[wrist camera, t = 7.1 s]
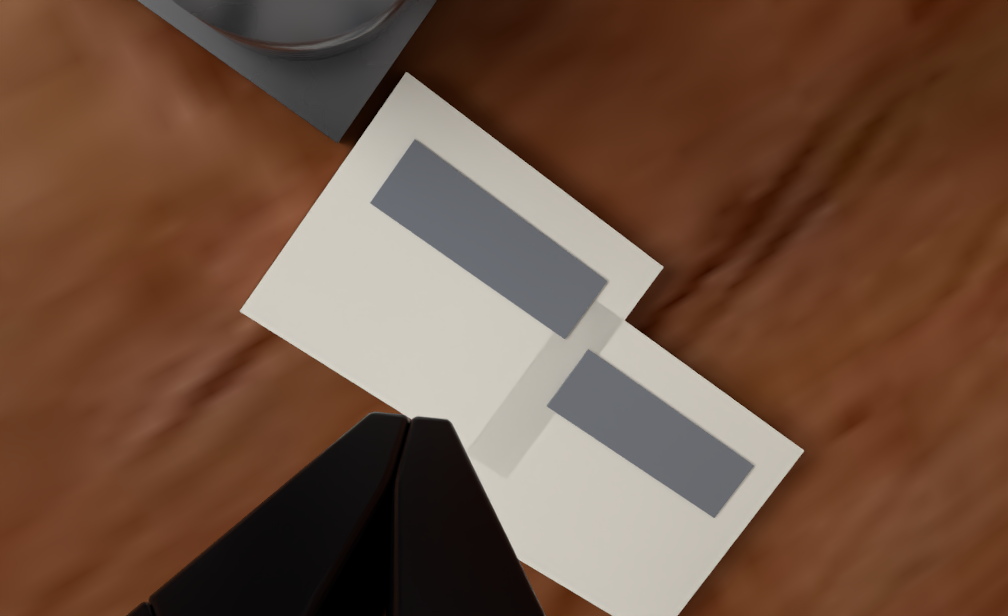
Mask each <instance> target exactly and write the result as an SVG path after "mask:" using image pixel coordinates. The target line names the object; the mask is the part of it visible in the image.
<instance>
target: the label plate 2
mask: <svg viewBox="0 0 1008 616" xmlns="http://www.w3.org/2000/svg"><path fill="white" fill-rule="evenodd" d="M597 303H598V302H597ZM597 303H596V304H597ZM598 304H599V303H598ZM598 304H597V305H598ZM600 304H601V303H600ZM600 304H599V305H600ZM594 307H595V306H594ZM603 307H604V306H603ZM595 308H596V307H595ZM597 308H598V307H597ZM592 310H593V311H594V309H592ZM601 310H602V309H601ZM601 310H600V311H601ZM603 310H604V309H603ZM593 311H592V312H593ZM608 311H609V310H608ZM608 311H607V312H608ZM610 311H611V310H610ZM590 312H591V311H590ZM592 312H591V313H592ZM611 312H612V311H611ZM611 312H610V313H611ZM597 313H598V312H597ZM599 313H600V312H599ZM610 313H609V314H610ZM600 314H601V313H600ZM588 315H589V314H588ZM605 315H606V314H605ZM612 315H613V314H612ZM589 316H590V315H589ZM597 316H598V315H596V317H597ZM608 316H609V315H608ZM608 316H607V317H608ZM594 317H595V316H594ZM594 317H593V318H594ZM596 317H595V318H596ZM598 317H599V316H598ZM598 317H597V318H598ZM607 317H606V318H607ZM613 317H614V316H613ZM615 317H616V316H615ZM615 317H614V318H615ZM586 319H587V318H586ZM602 319H603V318H602ZM619 319H620V318H619ZM620 320H621V319H620ZM620 320H619V321H620ZM591 321H592V320H591ZM608 321H609V320H608ZM610 321H611V320H610ZM592 322H593V321H592ZM592 322H591V323H592ZM611 322H612V321H611ZM611 322H610V323H611ZM617 322H618V321H617ZM599 323H600V322H599ZM601 323H602V322H601ZM620 323H621V322H620ZM606 324H607V323H606ZM606 324H605V325H606ZM617 324H619V323H617ZM607 325H608V324H607ZM620 325H621V326H620V327H619V328H617V329H618V330H617V331H616V332H615V334H614V335H613V336H612V338H611V339H610V341H609V342H608V343H606V344H607V345H606V346H605V347H603V348H604V349H603V350H602V351H601V353H600V354H599V355H596V354H595V353H593V352H592V350H591V351H590V350H589V349H588V350H587V351H586V353H585V354H584V355H583V357H582V358H581V359H580V361H579V362H578V364H577V365H576V366H575V368H574V369H573V370H572V372H571V373H570V374H569V376H568V377H567V378H566V380H565V381H564V383H563V384H562V385H561V387H560V388H559V389H558V391H556V393H555V395H554V396H553V397H552V398H551V400H550V402H549V403H547V407H548V408H550V409H551V410H553V411H554V412H556V414H555V415H554V416H553V418H552V419H551V420H550V422H549V423H548V424H547V426H546V427H545V429H544V430H543V431H542V433H541V434H540V435H539V437H538V438H537V439H536V441H535V442H534V443H533V445H532V446H531V448H530V449H529V450H528V452H527V453H526V454H525V456H524V457H523V458H522V460H521V461H520V462H519V464H518V465H517V466H516V468H515V469H514V471H513V472H512V473H511V475H510V476H509V477H507V478H508V479H506V478H504V477H503V476H501V475H499V474H498V472H497V473H496V472H495V471H493V470H492V469H490V468H488V467H487V466H485V465H484V464H482V463H480V462H479V461H477V460H476V459H474V458H472V457H471V456H469V455H468V454H467V455H468V457H469V459H470V461H471V463H472V465H473V467H474V469H475V471H476V473H477V475H478V478H479V480H480V482H481V484H482V486H483V488H484V490H485V492H486V494H487V496H488V498H489V500H490V502H491V504H492V506H493V508H494V510H495V513H496V515H497V517H498V519H499V521H500V523H501V525H502V527H503V529H504V531H505V533H506V535H507V537H508V539H509V541H510V543H511V545H512V547H513V550H514V552H515V554H516V556H517V558H518V559H519V560H520V561H522V562H524V563H525V564H527V565H529V566H530V567H532V568H534V569H535V570H537V571H539V572H540V573H542V574H544V575H545V576H547V577H549V578H550V579H552V580H554V581H555V582H557V583H559V584H560V585H562V586H564V587H565V588H567V589H569V590H570V591H572V592H574V593H575V594H577V595H579V596H580V597H582V598H584V599H585V600H587V601H589V602H590V603H592V604H594V605H595V606H597V607H599V608H601V609H602V610H604V611H606V612H607V613H609V614H611V615H612V616H678V614H679V613H680V612H681V611H682V609H683V608H684V607H685V605H686V604H687V603H688V601H689V600H690V599H691V598H692V596H693V595H694V594H695V592H696V591H697V590H698V588H699V587H700V586H701V585H702V583H703V582H704V581H705V579H706V578H707V577H708V575H709V574H710V573H711V572H712V570H713V569H714V568H715V566H716V565H717V564H718V562H719V561H720V560H721V559H722V557H723V556H724V555H725V553H726V552H727V551H728V549H729V548H730V547H731V546H732V544H733V543H734V542H735V540H736V539H737V538H738V536H739V535H740V534H741V533H742V531H743V530H744V529H745V527H746V526H747V525H748V523H749V522H750V521H751V520H752V518H753V517H754V516H755V514H756V513H757V512H758V510H759V509H760V508H761V507H762V505H763V504H764V503H765V501H766V500H767V499H768V497H769V496H770V495H771V494H772V492H773V491H774V490H775V488H776V487H777V486H778V484H779V483H780V482H781V481H782V479H783V478H784V477H785V475H786V474H787V473H788V471H789V470H790V469H791V468H792V466H793V465H794V464H795V462H796V461H797V460H798V458H799V457H800V456H801V455H802V453H803V452H804V450H803V449H801V448H800V447H799V446H797V445H796V444H794V443H793V442H792V441H790V440H789V439H788V438H786V437H785V436H783V435H782V434H781V433H779V432H778V431H776V430H775V429H774V428H772V427H771V426H770V425H768V424H767V423H765V422H764V421H763V420H761V419H760V418H759V417H757V416H756V415H754V414H753V413H752V412H750V411H749V410H747V409H746V408H745V407H743V406H742V405H741V404H739V403H738V402H736V401H735V400H734V399H732V398H731V397H730V396H728V395H727V394H725V393H724V392H723V391H721V390H720V389H719V388H717V387H716V386H714V385H713V384H712V383H710V382H709V381H707V380H706V379H705V378H703V377H702V376H701V375H699V374H698V373H696V372H695V371H694V370H692V369H691V368H690V367H688V366H687V365H685V364H684V363H683V362H681V361H680V360H679V359H677V358H676V357H674V356H673V355H672V354H670V353H669V352H667V351H666V350H665V349H663V348H662V347H661V346H659V345H658V344H656V343H655V342H654V341H652V340H651V339H650V338H648V337H647V336H645V335H644V334H643V333H641V332H640V331H638V330H637V329H636V328H634V327H633V326H632V325H630V324H629V323H627V322H626V321H625V320H624V322H623V323H622V324H620ZM590 326H591V325H590ZM608 326H609V325H608ZM615 326H617V325H615ZM594 327H595V326H594ZM594 327H593V328H594ZM596 327H597V326H596ZM596 327H595V328H596ZM613 327H614V326H613ZM587 328H588V327H587ZM603 328H604V326H603ZM614 328H615V327H614ZM614 328H613V329H614ZM604 329H605V328H604ZM606 329H607V327H606ZM613 329H612V331H613ZM576 330H577V329H576ZM586 330H587V329H586ZM600 330H602V329H600ZM609 330H610V329H609ZM574 331H575V330H574ZM593 331H594V330H593ZM604 331H605V330H604ZM610 331H611V330H610ZM590 332H591V331H590ZM594 332H595V331H594ZM594 332H593V333H594ZM598 332H599V331H598ZM570 333H571V332H570ZM573 333H574V332H573ZM583 333H584V332H583ZM599 333H600V332H599ZM588 335H589V334H588ZM592 335H593V334H592ZM596 335H598V334H596ZM596 335H595V336H596ZM605 335H606V334H605ZM607 335H608V334H607ZM609 335H610V333H609ZM609 335H608V336H609ZM595 336H594V337H595ZM586 337H587V336H586ZM596 337H597V336H596ZM561 338H562V337H561ZM597 338H598V337H597ZM597 338H596V339H597ZM602 339H603V338H602ZM602 339H601V340H602ZM595 341H596V340H595ZM595 341H594V342H595ZM606 341H607V340H606ZM600 342H601V341H600ZM561 343H562V342H561ZM601 343H602V342H601ZM601 343H600V344H601ZM600 344H599V345H600ZM604 344H605V343H604ZM590 345H591V344H590ZM598 347H599V346H598ZM549 348H550V347H549ZM553 348H554V347H553ZM577 349H578V348H577ZM596 349H597V348H596ZM566 351H567V350H566ZM556 354H557V353H556ZM552 355H553V354H552ZM552 355H551V356H552ZM570 364H571V363H570ZM551 369H552V368H551ZM531 378H532V377H531ZM531 383H532V382H531ZM545 385H546V384H545ZM554 387H555V386H554ZM546 394H547V393H546ZM542 396H543V395H542ZM539 400H540V399H539ZM537 402H538V401H537ZM524 407H525V406H524ZM542 408H543V407H542ZM526 409H527V408H526ZM505 410H506V409H505ZM522 410H523V409H522ZM543 410H544V409H543ZM520 411H521V410H520ZM527 414H528V413H527ZM536 414H537V413H536ZM546 415H547V414H546ZM525 417H526V416H525ZM543 417H544V416H543ZM533 418H534V417H533ZM536 418H537V417H536ZM546 418H547V417H546ZM523 419H524V418H523ZM525 419H526V418H525ZM548 421H549V420H548ZM548 421H547V422H548ZM520 423H521V422H520ZM521 424H522V423H521ZM530 424H531V423H530ZM545 425H546V424H545ZM545 425H544V426H545ZM488 428H489V426H488ZM497 428H498V427H497ZM517 429H518V428H517ZM542 429H543V428H542ZM542 429H541V430H542ZM505 430H506V429H505ZM526 430H527V429H526ZM510 431H511V430H510ZM512 431H513V430H512ZM531 431H532V430H531ZM528 432H529V431H528ZM531 433H532V432H531ZM531 433H530V434H531ZM495 434H496V433H495ZM503 434H504V433H503ZM537 435H538V434H537ZM517 437H518V436H517ZM478 438H479V437H478ZM527 438H528V437H527ZM485 441H486V440H485ZM484 445H485V444H484ZM511 447H512V446H511ZM519 447H520V446H519ZM478 449H479V448H478ZM489 449H490V448H489ZM504 451H505V450H504ZM512 451H513V450H512ZM515 452H516V451H515ZM474 453H475V452H474ZM524 453H525V452H524ZM508 454H509V453H508ZM485 455H486V454H485ZM491 456H492V455H491ZM503 466H504V465H503ZM508 469H509V468H508ZM505 473H506V472H505ZM500 474H501V473H500Z"/></svg>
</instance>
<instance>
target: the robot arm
mask: <svg viewBox="0 0 1008 616" xmlns="http://www.w3.org/2000/svg"><path fill="white" fill-rule="evenodd" d="M126 616H546V615H545V613H544V611H543V609H542V607H541V605H540V603H539V601H538V599H537V597H536V595H535V593H534V591H533V589H532V587H531V585H530V582H529V580H528V578H527V576H526V574H525V572H524V570H523V568H522V566H521V564H520V562H519V560H518V558H517V556H516V554H515V552H514V550H513V547H512V545H511V543H510V541H509V539H508V537H507V535H506V533H505V531H504V529H503V527H502V525H501V523H500V521H499V519H498V517H497V515H496V513H495V510H494V508H493V506H492V504H491V502H490V500H489V498H488V496H487V494H486V492H485V490H484V488H483V486H482V484H481V482H480V480H479V478H478V475H477V473H476V471H475V469H474V467H473V465H472V463H471V461H470V459H469V457H468V455H467V453H466V451H465V449H464V447H463V445H462V443H461V440H460V438H459V436H458V434H457V432H456V430H455V428H454V426H453V424H452V423H451V422H450V421H449V420H448V419H441V418H431V417H421V416H416V417H414V418H412V420H411V421H410V420H409V418H408V417H407V416H406V415H401V414H392V413H382V412H372V413H369V414H368V415H367V416H365V417H364V418H363V419H362V420H361V421H359V422H358V423H357V424H356V425H355V426H353V427H352V428H351V429H350V430H349V431H347V432H346V433H345V434H344V435H343V436H341V437H340V438H339V439H338V440H337V441H335V442H334V443H333V444H332V445H331V446H329V447H328V448H327V449H326V450H325V451H323V452H322V453H321V454H320V455H319V456H317V457H316V458H315V459H314V460H313V461H311V462H310V463H309V464H308V465H307V466H305V467H304V468H303V469H302V470H301V471H299V472H298V473H297V474H296V475H295V476H293V477H292V478H291V479H290V480H289V481H288V482H286V483H285V484H284V485H283V486H282V487H280V488H279V489H278V490H277V491H276V492H274V493H273V494H272V495H271V496H270V497H268V498H267V499H266V500H265V501H264V502H262V503H261V504H260V505H259V506H258V507H256V508H255V509H254V510H253V511H252V512H250V513H249V514H248V515H247V516H246V517H244V518H243V519H242V520H241V521H240V522H238V523H237V524H236V525H235V526H234V527H232V528H231V529H230V530H229V531H228V532H226V533H225V534H224V535H223V536H222V537H220V538H219V539H218V540H217V541H216V542H214V543H213V544H212V545H211V546H210V547H208V548H207V549H206V550H205V551H204V552H202V553H201V554H200V555H199V556H198V557H196V558H195V559H194V560H193V561H192V562H190V563H189V564H188V565H187V566H186V567H184V568H183V569H182V570H181V571H180V572H178V573H177V574H176V575H175V576H174V577H172V578H171V579H170V580H169V581H168V582H166V583H165V584H164V585H163V586H162V587H160V588H159V589H158V590H157V591H156V592H155V593H153V594H152V595H151V596H150V597H149V603H147V602H143V603H141V604H140V605H138V606H137V607H136V608H135V609H134V610H132V611H131V612H130V613H129V614H128V615H126Z"/></svg>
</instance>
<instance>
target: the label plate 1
mask: <svg viewBox="0 0 1008 616" xmlns="http://www.w3.org/2000/svg"><path fill="white" fill-rule="evenodd" d="M662 269H663V266H662V265H660V264H659V263H658V262H656V261H655V260H654V259H652V258H651V257H650V256H649V255H647V254H646V253H645V252H643V251H642V250H641V249H639V248H638V247H637V246H635V245H634V244H633V243H631V242H630V241H629V240H627V239H626V238H625V237H623V236H622V235H621V234H620V233H618V232H617V231H616V230H614V229H613V228H612V227H610V226H609V225H608V224H606V223H605V222H604V221H602V220H601V219H600V218H598V217H597V216H596V215H595V214H593V213H592V212H591V211H589V210H588V209H587V208H585V207H584V206H583V205H581V204H580V203H579V202H577V201H576V200H575V199H573V198H572V197H571V196H569V195H568V194H567V193H566V192H564V191H563V190H562V189H560V188H559V187H558V186H556V185H555V184H554V183H552V182H551V181H550V180H548V179H547V178H546V177H544V176H543V175H542V174H541V173H539V172H538V171H537V170H535V169H534V168H533V167H531V166H530V165H529V164H527V163H526V162H525V161H523V160H522V159H521V158H519V157H518V156H517V155H515V154H514V153H513V152H512V151H510V150H509V149H508V148H506V147H505V146H504V145H502V144H501V143H500V142H498V141H497V140H496V139H494V138H493V137H492V136H490V135H489V134H488V133H487V132H485V131H484V130H483V129H481V128H480V127H479V126H477V125H476V124H475V123H473V122H472V121H471V120H469V119H468V118H467V117H465V116H464V115H463V114H461V113H460V112H459V111H458V110H456V109H455V108H454V107H452V106H451V105H450V104H448V103H447V102H446V101H444V100H443V99H442V98H440V97H439V96H438V95H436V94H435V93H434V92H432V91H431V90H430V89H429V88H427V87H426V86H425V85H423V84H422V83H421V82H419V81H418V80H417V79H415V78H414V77H413V76H411V75H410V74H409V73H407V72H406V73H405V74H404V76H403V77H402V79H401V80H400V81H399V83H398V84H397V86H396V87H395V89H394V90H393V91H392V93H391V94H390V96H389V97H388V99H387V100H386V102H385V103H384V104H383V106H382V107H381V109H380V110H379V112H378V113H377V114H376V116H375V117H374V119H373V120H372V122H371V123H370V125H369V126H368V127H367V129H366V130H365V132H364V133H363V135H362V136H361V137H360V139H359V140H358V142H357V143H356V145H355V146H354V148H353V149H352V150H351V152H350V153H349V155H348V156H347V158H346V159H345V160H344V162H343V163H342V165H341V166H340V168H339V169H338V171H337V172H336V173H335V175H334V176H333V178H332V179H331V181H330V182H329V183H328V185H327V186H326V188H325V189H324V191H323V192H322V194H321V195H320V196H319V198H318V199H317V201H316V202H315V204H314V205H313V206H312V208H311V209H310V211H309V212H308V214H307V215H306V217H305V218H304V219H303V221H302V222H301V224H300V225H299V227H298V228H297V229H296V231H295V232H294V234H293V235H292V237H291V238H290V240H289V241H288V242H287V244H286V245H285V247H284V248H283V250H282V251H281V252H280V254H279V255H278V257H277V258H276V260H275V261H274V263H273V264H272V265H271V267H270V268H269V270H268V271H267V273H266V274H265V275H264V277H263V278H262V280H261V281H260V283H259V284H258V286H257V287H256V288H255V290H254V291H253V293H252V294H251V296H250V297H249V298H248V300H247V301H246V303H245V304H244V306H243V307H242V309H241V310H240V312H241V313H243V314H245V315H246V316H248V317H249V318H251V319H253V320H254V321H256V322H257V323H259V324H261V325H262V326H264V327H265V328H267V329H269V330H270V331H272V332H273V333H275V334H276V335H278V336H280V337H281V338H283V339H284V340H286V341H288V342H289V343H291V344H292V345H294V346H296V347H297V348H299V349H300V350H302V351H304V352H305V353H307V354H308V355H310V356H312V357H313V358H315V359H316V360H318V361H319V362H321V363H323V364H324V365H326V366H327V367H329V368H331V369H332V370H334V371H335V372H337V373H339V374H340V375H342V376H343V377H345V378H347V379H348V380H350V381H351V382H353V383H355V384H356V385H358V386H359V387H361V388H362V389H364V390H366V391H367V392H369V393H370V394H372V395H374V396H375V397H377V398H378V399H380V400H382V401H383V402H385V403H386V404H388V405H390V406H391V407H393V408H394V409H396V410H398V411H399V412H401V413H402V414H404V415H406V416H407V417H409V418H410V419H412V418H414V417H416V416H421V417H431V418H441V419H448V420H449V421H450V422H451V423H452V424H453V426H454V428H455V430H456V432H457V434H458V436H459V438H460V440H461V443H462V445H463V447H464V449H465V451H466V453H467V454H468V455H469V456H471V457H472V458H474V459H476V460H477V461H479V462H480V463H482V464H484V465H485V466H487V467H488V468H490V469H492V470H493V471H495V472H496V473H497V472H498V474H499V475H501V476H503V477H504V478H506V479H508V478H507V477H509V476H510V475H511V473H512V472H513V471H514V469H515V468H516V466H517V465H518V464H519V462H520V461H521V460H522V458H523V457H524V456H525V454H526V453H527V452H528V450H529V449H530V448H531V446H532V445H533V443H534V442H535V441H536V439H537V438H538V437H539V435H540V434H541V433H542V431H543V430H544V429H545V427H546V426H547V424H548V423H549V422H550V420H551V419H552V418H553V416H554V415H555V414H556V412H554V411H553V410H551V409H550V408H548V407H547V403H549V402H550V400H551V398H552V397H553V396H554V395H555V393H556V391H558V389H559V388H560V387H561V385H562V384H563V383H564V381H565V380H566V378H567V377H568V376H569V374H570V373H571V372H572V370H573V369H574V368H575V366H576V365H577V364H578V362H579V361H580V359H581V358H582V357H583V355H584V354H585V353H586V351H587V350H588V349H589V350H590V351H591V350H592V352H593V353H595V354H596V355H599V354H600V353H601V351H602V350H603V349H604V348H603V347H605V346H606V345H607V344H606V343H608V342H609V341H610V339H611V338H612V336H613V335H614V334H615V332H616V331H617V330H618V329H617V328H619V327H620V326H621V325H620V324H622V323H623V322H624V320H625V319H626V318H627V316H628V315H629V313H630V312H631V311H632V309H633V308H634V307H635V305H636V304H637V303H638V301H639V300H640V299H641V297H642V296H643V295H644V293H645V292H646V290H647V289H648V288H649V286H650V285H651V284H652V282H653V281H654V280H655V278H656V277H657V276H658V274H659V273H660V272H661V270H662ZM597 302H598V303H599V304H600V303H601V304H600V305H599V304H598V303H597ZM596 303H597V304H598V305H597V304H596ZM594 306H595V307H596V308H595V307H594ZM603 306H604V307H603ZM597 307H598V308H597ZM592 309H594V311H593V310H592ZM601 309H602V310H601ZM603 309H604V310H603ZM600 310H601V311H600ZM608 310H609V311H608ZM610 310H611V311H612V312H611V311H610ZM590 311H591V312H592V311H593V312H592V313H591V312H590ZM607 311H608V312H607ZM597 312H598V313H597ZM599 312H600V313H601V314H600V313H599ZM610 312H611V313H610ZM609 313H610V314H609ZM588 314H589V315H590V316H589V315H588ZM605 314H606V315H605ZM612 314H613V315H612ZM596 315H598V316H599V317H598V316H597V317H598V318H597V317H596ZM608 315H609V316H608ZM594 316H595V317H596V318H595V317H594ZM607 316H608V317H607ZM613 316H614V317H615V316H616V317H615V318H614V317H613ZM593 317H594V318H593ZM606 317H607V318H606ZM586 318H587V319H586ZM602 318H603V319H602ZM619 318H620V319H621V320H620V319H619ZM591 320H592V321H593V322H592V321H591ZM608 320H609V321H608ZM610 320H611V321H612V322H611V321H610ZM619 320H620V321H619ZM617 321H618V322H617ZM591 322H592V323H591ZM599 322H600V323H599ZM601 322H602V323H601ZM610 322H611V323H610ZM620 322H621V323H620ZM606 323H607V324H608V325H609V326H608V325H607V324H606ZM617 323H619V324H617ZM605 324H606V325H605ZM590 325H591V326H590ZM615 325H617V326H615ZM594 326H595V327H596V326H597V327H596V328H595V327H594ZM603 326H604V328H605V329H604V328H603ZM613 326H614V327H615V328H614V327H613ZM587 327H588V328H587ZM593 327H594V328H593ZM606 327H607V329H606ZM613 328H614V329H613ZM576 329H577V330H576ZM586 329H587V330H586ZM600 329H602V330H600ZM609 329H610V330H611V331H610V330H609ZM612 329H613V331H612ZM574 330H575V331H574ZM593 330H594V331H595V332H594V331H593ZM604 330H605V331H604ZM590 331H591V332H590ZM598 331H599V332H600V333H599V332H598ZM570 332H571V333H570ZM573 332H574V333H573ZM583 332H584V333H583ZM593 332H594V333H593ZM609 333H610V335H609ZM588 334H589V335H588ZM592 334H593V335H592ZM596 334H598V335H596ZM605 334H606V335H605ZM607 334H608V335H609V336H608V335H607ZM595 335H596V336H597V337H598V338H597V337H596V336H595ZM586 336H587V337H586ZM594 336H595V337H594ZM561 337H562V338H561ZM596 338H597V339H596ZM602 338H603V339H602ZM601 339H602V340H601ZM595 340H596V341H595ZM606 340H607V341H606ZM594 341H595V342H594ZM600 341H601V342H602V343H601V342H600ZM561 342H562V343H561ZM600 343H601V344H600ZM604 343H605V344H604ZM590 344H591V345H590ZM599 344H600V345H599ZM598 346H599V347H598ZM549 347H550V348H549ZM553 347H554V348H553ZM577 348H578V349H577ZM596 348H597V349H596ZM566 350H567V351H566ZM556 353H557V354H556ZM552 354H553V355H552ZM551 355H552V356H551ZM570 363H571V364H570ZM551 368H552V369H551ZM531 377H532V378H531ZM531 382H532V383H531ZM545 384H546V385H545ZM554 386H555V387H554ZM546 393H547V394H546ZM542 395H543V396H542ZM539 399H540V400H539ZM537 401H538V402H537ZM524 406H525V407H524ZM542 407H543V408H542ZM526 408H527V409H526ZM505 409H506V410H505ZM522 409H523V410H522ZM543 409H544V410H543ZM520 410H521V411H520ZM527 413H528V414H527ZM536 413H537V414H536ZM546 414H547V415H546ZM525 416H526V417H525ZM543 416H544V417H543ZM533 417H534V418H533ZM536 417H537V418H536ZM546 417H547V418H546ZM523 418H524V419H523ZM525 418H526V419H525ZM548 420H549V421H548ZM547 421H548V422H547ZM520 422H521V423H522V424H521V423H520ZM530 423H531V424H530ZM545 424H546V425H545ZM544 425H545V426H544ZM488 426H489V428H488ZM497 427H498V428H497ZM517 428H518V429H517ZM542 428H543V429H542ZM505 429H506V430H505ZM526 429H527V430H526ZM541 429H542V430H541ZM510 430H511V431H510ZM512 430H513V431H512ZM531 430H532V431H531ZM528 431H529V432H528ZM531 432H532V433H531ZM495 433H496V434H495ZM503 433H504V434H503ZM530 433H531V434H530ZM537 434H538V435H537ZM517 436H518V437H517ZM478 437H479V438H478ZM527 437H528V438H527ZM485 440H486V441H485ZM484 444H485V445H484ZM511 446H512V447H511ZM519 446H520V447H519ZM478 448H479V449H478ZM489 448H490V449H489ZM504 450H505V451H504ZM512 450H513V451H512ZM515 451H516V452H515ZM474 452H475V453H474ZM524 452H525V453H524ZM508 453H509V454H508ZM485 454H486V455H485ZM491 455H492V456H491ZM503 465H504V466H503ZM508 468H509V469H508ZM505 472H506V473H505ZM500 473H501V474H500Z"/></svg>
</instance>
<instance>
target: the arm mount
mask: <svg viewBox="0 0 1008 616" xmlns="http://www.w3.org/2000/svg"><path fill="white" fill-rule="evenodd" d="M138 1H139V2H140V3H142V4H143V5H145V6H146V7H147V8H149V9H150V10H152V11H153V12H154V13H156V14H157V15H159V16H160V17H161V18H163V19H164V20H166V21H167V22H168V23H170V24H171V25H173V26H174V27H175V28H177V29H178V30H180V31H181V32H182V33H184V34H185V35H187V36H188V37H189V38H191V39H192V40H194V41H195V42H196V43H198V44H199V45H201V46H202V47H203V48H205V49H206V50H208V51H209V52H211V53H212V54H213V55H215V56H216V57H218V58H219V59H220V60H222V61H223V62H225V63H226V64H227V65H229V66H230V67H232V68H233V69H234V70H236V71H237V72H239V73H240V74H241V75H243V76H244V77H246V78H247V79H248V80H250V81H251V82H253V83H254V84H255V85H257V86H258V87H260V88H261V89H262V90H264V91H265V92H267V93H268V94H269V95H271V96H272V97H274V98H275V99H276V100H278V101H279V102H281V103H282V104H283V105H285V106H286V107H288V108H289V109H290V110H292V111H293V112H295V113H296V114H297V115H299V116H300V117H302V118H303V119H304V120H306V121H307V122H309V123H310V124H311V125H313V126H314V127H316V128H317V129H318V130H320V131H321V132H323V133H324V134H325V135H327V136H328V137H330V138H331V139H332V140H334V141H335V142H337V143H338V142H339V141H340V139H341V138H342V137H343V135H344V134H345V132H346V131H347V129H348V128H349V126H350V125H351V124H352V122H353V121H354V119H355V118H356V116H357V115H358V113H359V112H360V111H361V109H362V108H363V106H364V105H365V103H366V102H367V100H368V99H369V98H370V96H371V95H372V93H373V92H374V90H375V89H376V88H377V86H378V85H379V83H380V82H381V80H382V79H383V77H384V76H385V75H386V73H387V72H388V70H389V69H390V67H391V66H392V64H393V63H394V62H395V60H396V59H397V57H398V56H399V54H400V53H401V51H402V50H403V49H404V47H405V46H406V44H407V43H408V41H409V40H410V39H411V37H412V36H413V34H414V33H415V31H416V30H417V28H418V27H419V26H420V24H421V23H422V21H423V20H424V18H425V17H426V15H427V14H428V13H429V11H430V10H431V8H432V7H433V5H434V4H435V2H436V1H437V0H138Z"/></svg>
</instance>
